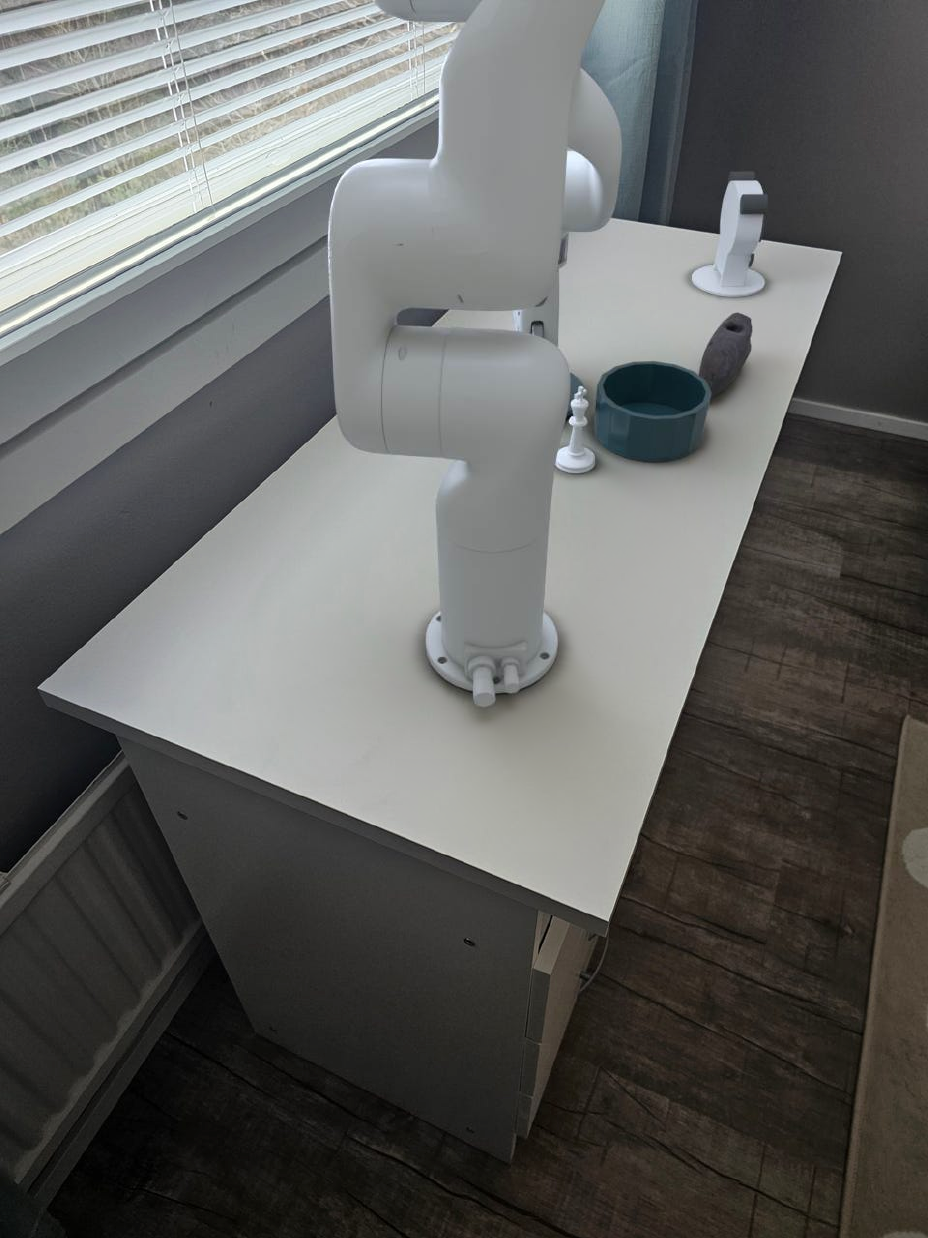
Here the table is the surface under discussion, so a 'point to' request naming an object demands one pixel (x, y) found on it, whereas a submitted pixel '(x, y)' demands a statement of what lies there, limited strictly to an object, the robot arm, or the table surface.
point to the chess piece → (576, 440)
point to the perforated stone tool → (726, 352)
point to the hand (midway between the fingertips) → (530, 382)
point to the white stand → (736, 240)
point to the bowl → (651, 411)
